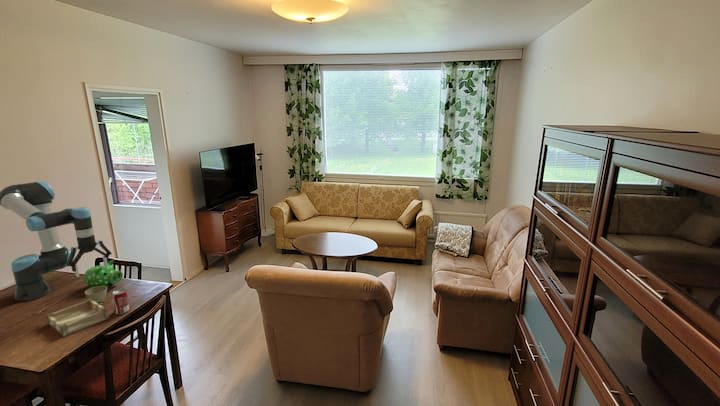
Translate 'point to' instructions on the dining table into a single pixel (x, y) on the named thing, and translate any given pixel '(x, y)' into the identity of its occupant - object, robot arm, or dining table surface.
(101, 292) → the flower pot
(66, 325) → the crate
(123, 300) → the soda can
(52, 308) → the dining table surface
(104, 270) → the piggy bank
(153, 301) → the dining table surface
